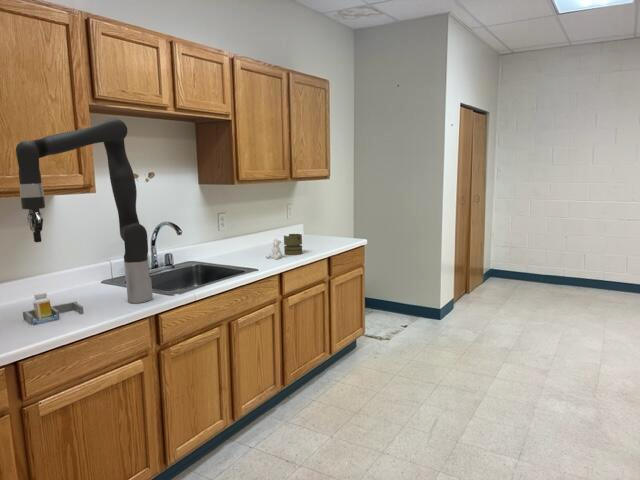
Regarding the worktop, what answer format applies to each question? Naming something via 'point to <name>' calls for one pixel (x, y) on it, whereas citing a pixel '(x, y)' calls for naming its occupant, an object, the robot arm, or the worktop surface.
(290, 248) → the olive green ridged block
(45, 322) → the light blue flat bar
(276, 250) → the seated beast figurine
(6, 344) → the worktop surface
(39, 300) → the supplement bottle
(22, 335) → the worktop surface
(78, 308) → the grey two-tier shelf
